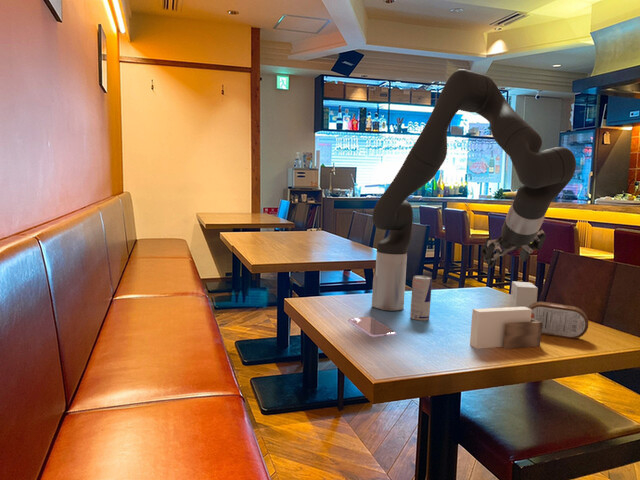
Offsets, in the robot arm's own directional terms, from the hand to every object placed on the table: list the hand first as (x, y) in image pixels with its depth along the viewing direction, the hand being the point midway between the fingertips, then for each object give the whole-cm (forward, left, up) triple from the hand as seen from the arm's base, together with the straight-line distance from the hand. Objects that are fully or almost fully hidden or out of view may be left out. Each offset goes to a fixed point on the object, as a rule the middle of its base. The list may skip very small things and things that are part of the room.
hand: (505, 261), depth 119 cm
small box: (+5, +21, -20) cm, 29 cm away
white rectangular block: (0, -7, -20) cm, 21 cm away
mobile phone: (-32, -9, -20) cm, 39 cm away
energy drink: (-22, +6, -20) cm, 30 cm away
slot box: (+3, -4, -20) cm, 20 cm away
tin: (+13, +9, -20) cm, 26 cm away
